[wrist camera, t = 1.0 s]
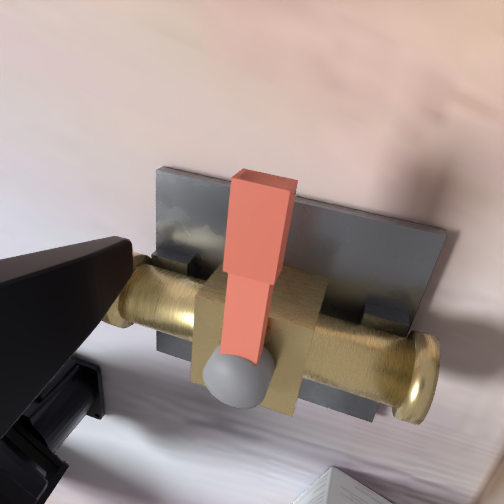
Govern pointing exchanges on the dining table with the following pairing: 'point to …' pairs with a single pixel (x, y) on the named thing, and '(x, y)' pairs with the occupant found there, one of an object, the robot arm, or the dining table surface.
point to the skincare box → (338, 491)
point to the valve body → (296, 299)
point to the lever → (250, 286)
